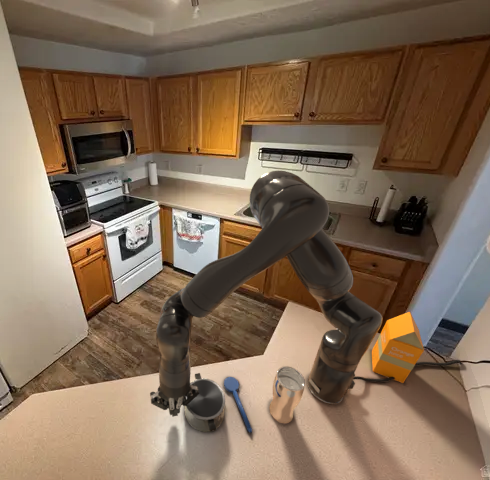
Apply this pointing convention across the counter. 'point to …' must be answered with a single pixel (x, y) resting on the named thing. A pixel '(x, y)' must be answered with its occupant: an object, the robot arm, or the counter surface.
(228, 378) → the blue spoon
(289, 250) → the robot arm
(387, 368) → the orange juice
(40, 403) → the counter surface
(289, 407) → the beer glass
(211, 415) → the steel pot
